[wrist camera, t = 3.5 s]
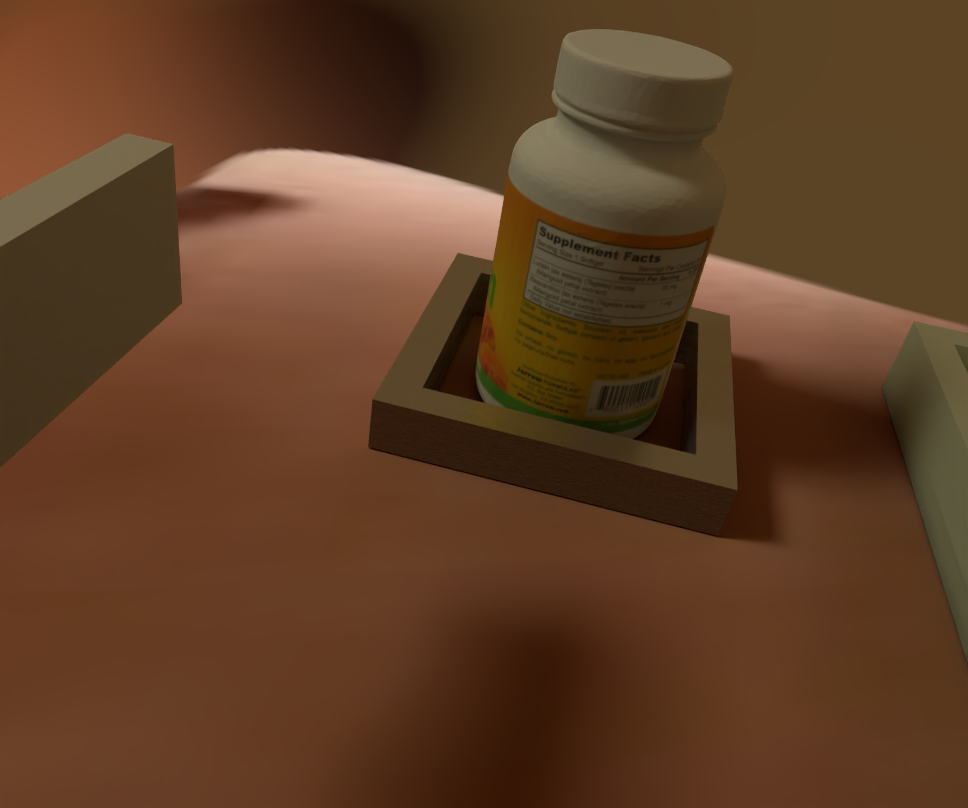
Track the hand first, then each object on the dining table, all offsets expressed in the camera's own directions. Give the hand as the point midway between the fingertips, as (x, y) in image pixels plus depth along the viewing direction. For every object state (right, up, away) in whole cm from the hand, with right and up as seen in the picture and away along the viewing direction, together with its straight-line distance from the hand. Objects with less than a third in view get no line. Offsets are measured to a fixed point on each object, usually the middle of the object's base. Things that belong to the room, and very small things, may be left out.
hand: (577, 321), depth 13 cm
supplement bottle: (+1, -1, +12) cm, 13 cm away
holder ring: (+1, -1, +12) cm, 12 cm away
